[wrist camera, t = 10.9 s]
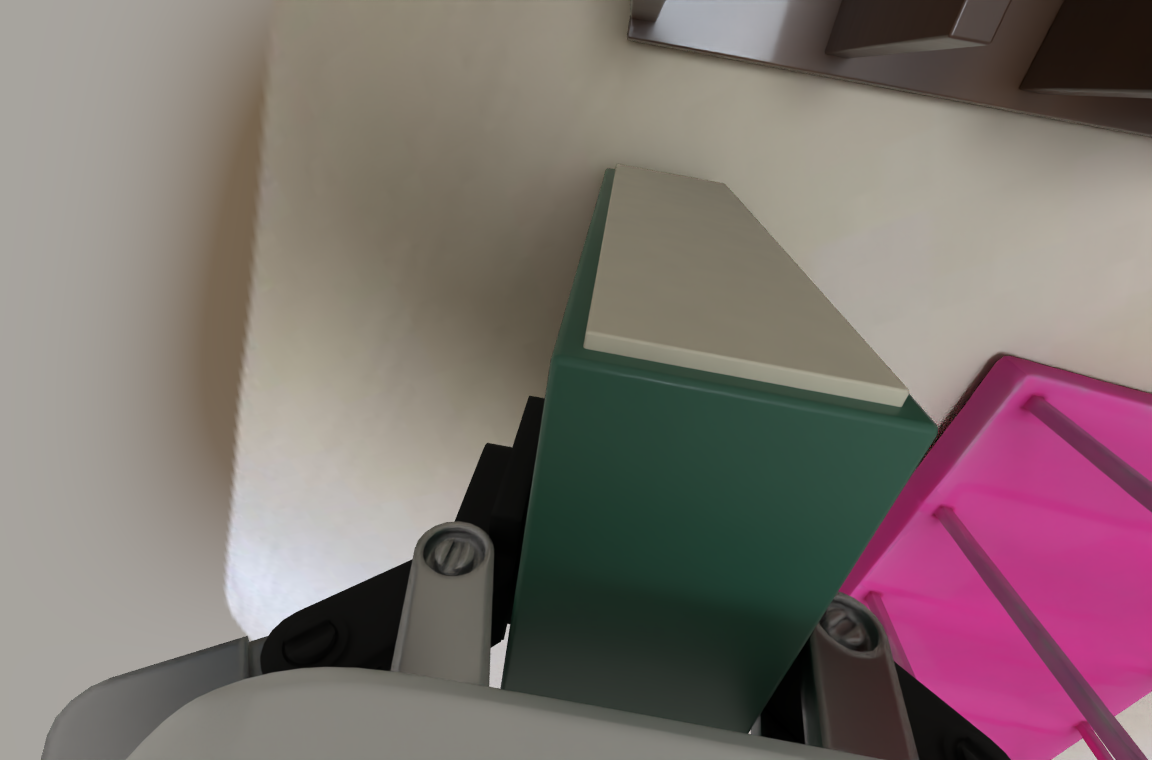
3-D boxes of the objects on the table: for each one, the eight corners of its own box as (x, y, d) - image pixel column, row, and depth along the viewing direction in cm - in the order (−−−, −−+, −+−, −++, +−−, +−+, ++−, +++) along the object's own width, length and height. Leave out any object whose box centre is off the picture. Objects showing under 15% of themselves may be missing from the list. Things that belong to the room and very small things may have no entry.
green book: (557, 443, 22) (479, 824, 11) (607, 160, 16) (553, 338, 5) (651, 460, 22) (671, 858, 11) (733, 183, 16) (957, 412, 5)
